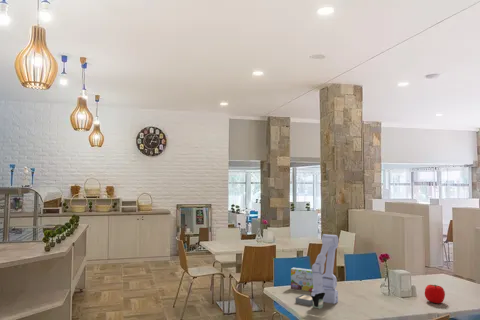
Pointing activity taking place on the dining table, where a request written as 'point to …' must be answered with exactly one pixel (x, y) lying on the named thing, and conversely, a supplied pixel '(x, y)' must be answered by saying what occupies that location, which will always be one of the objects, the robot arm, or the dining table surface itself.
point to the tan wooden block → (306, 297)
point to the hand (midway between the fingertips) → (318, 305)
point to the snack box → (301, 279)
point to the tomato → (434, 293)
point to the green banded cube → (319, 304)
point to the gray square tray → (304, 300)
